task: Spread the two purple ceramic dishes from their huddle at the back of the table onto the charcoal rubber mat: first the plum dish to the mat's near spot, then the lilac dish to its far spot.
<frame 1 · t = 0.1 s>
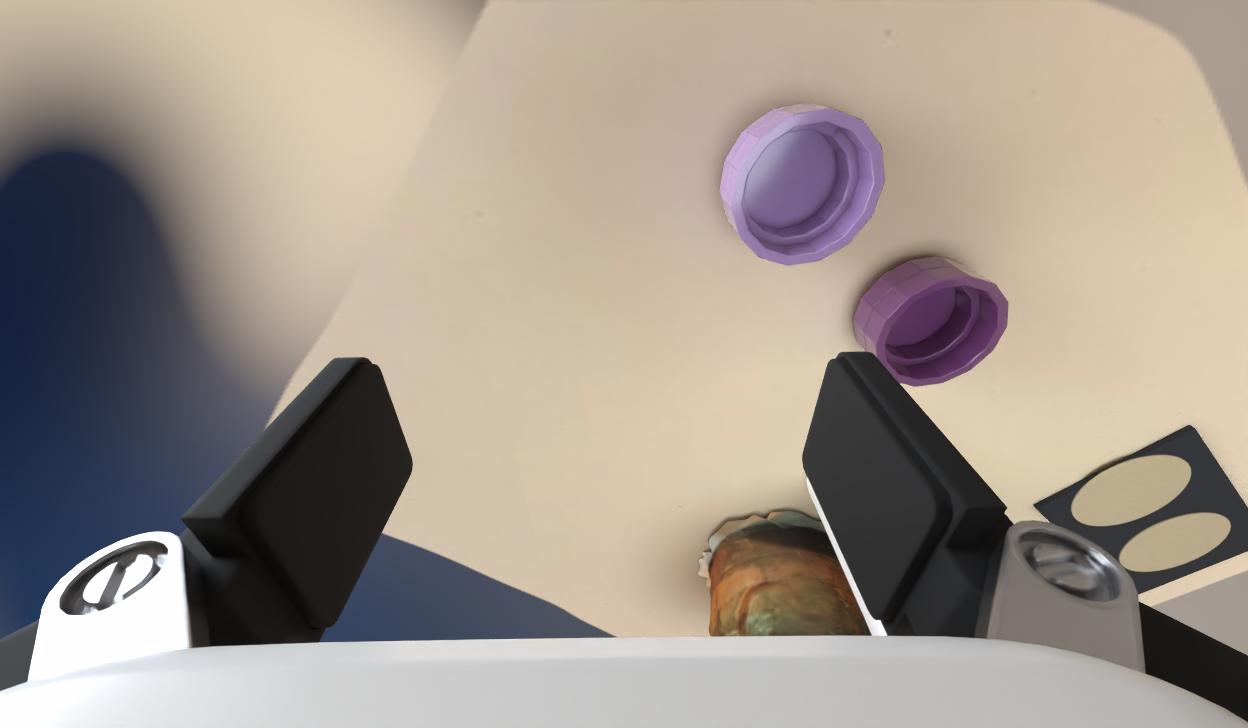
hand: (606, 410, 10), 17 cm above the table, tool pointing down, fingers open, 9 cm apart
cup: (860, 470, 35), on the table
mat: (1153, 522, 39), on the table
vessel: (762, 560, 41), on the table
plum dish: (907, 307, 28), on the table
lilac dish: (784, 177, 24), on the table
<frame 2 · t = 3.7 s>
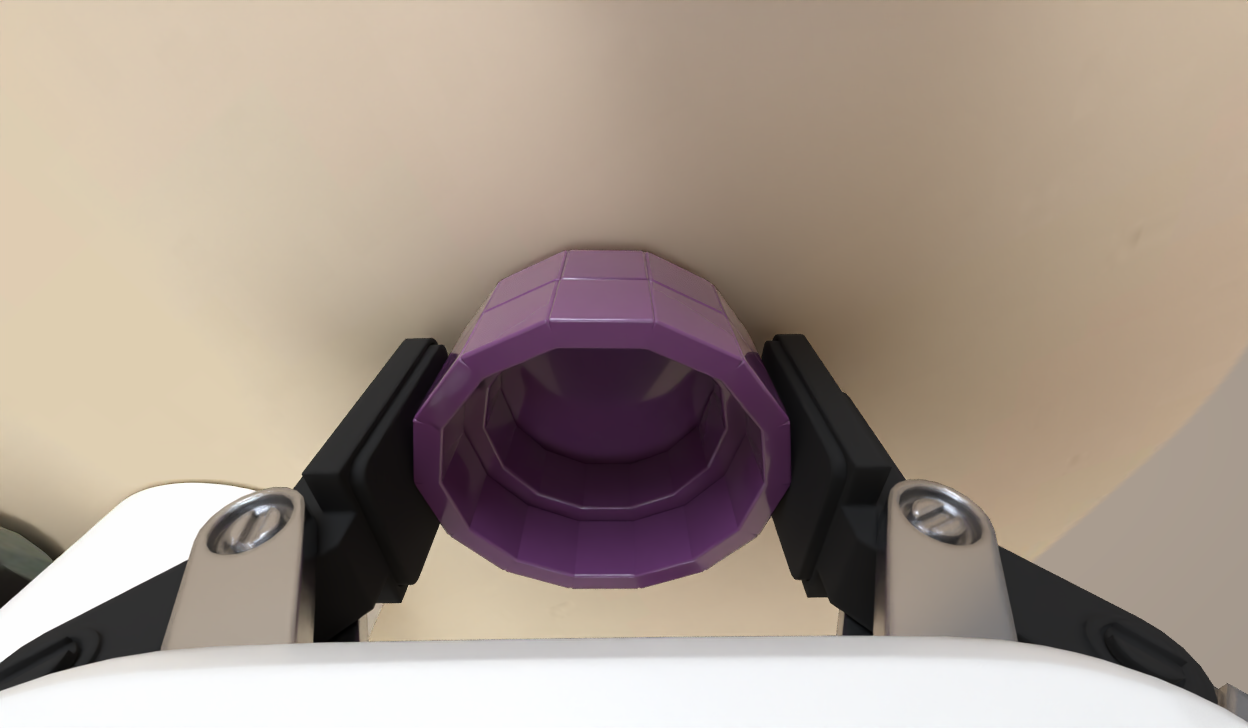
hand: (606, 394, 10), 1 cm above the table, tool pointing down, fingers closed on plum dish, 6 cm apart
cup: (260, 563, 15), on the table
plum dish: (607, 375, 11), on the table, touching gripper
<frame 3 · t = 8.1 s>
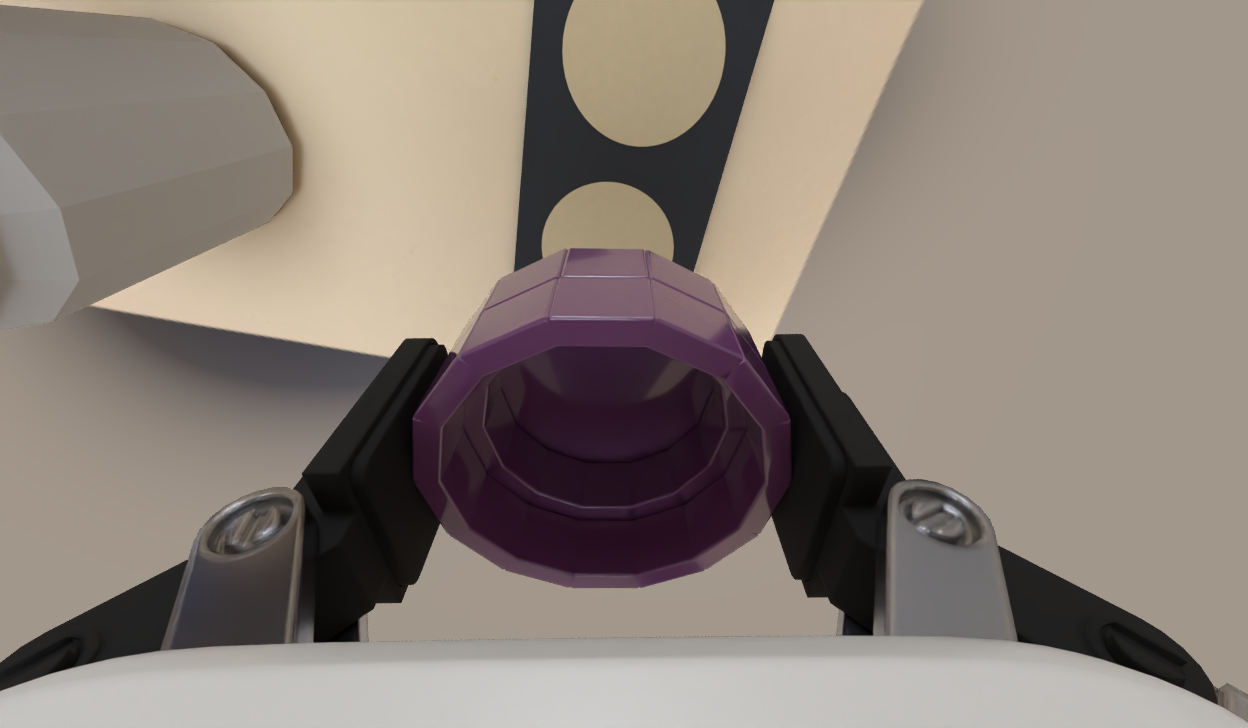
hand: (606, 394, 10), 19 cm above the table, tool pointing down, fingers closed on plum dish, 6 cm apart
mat: (618, 190, 27), on the table
plum dish: (607, 374, 11), point 19 cm above the table, touching gripper
jar: (212, 132, 25), on the table
when the fingers open (1 cm above the table, at t = 12.9 s): plum dish stays where it is, resting on mat.
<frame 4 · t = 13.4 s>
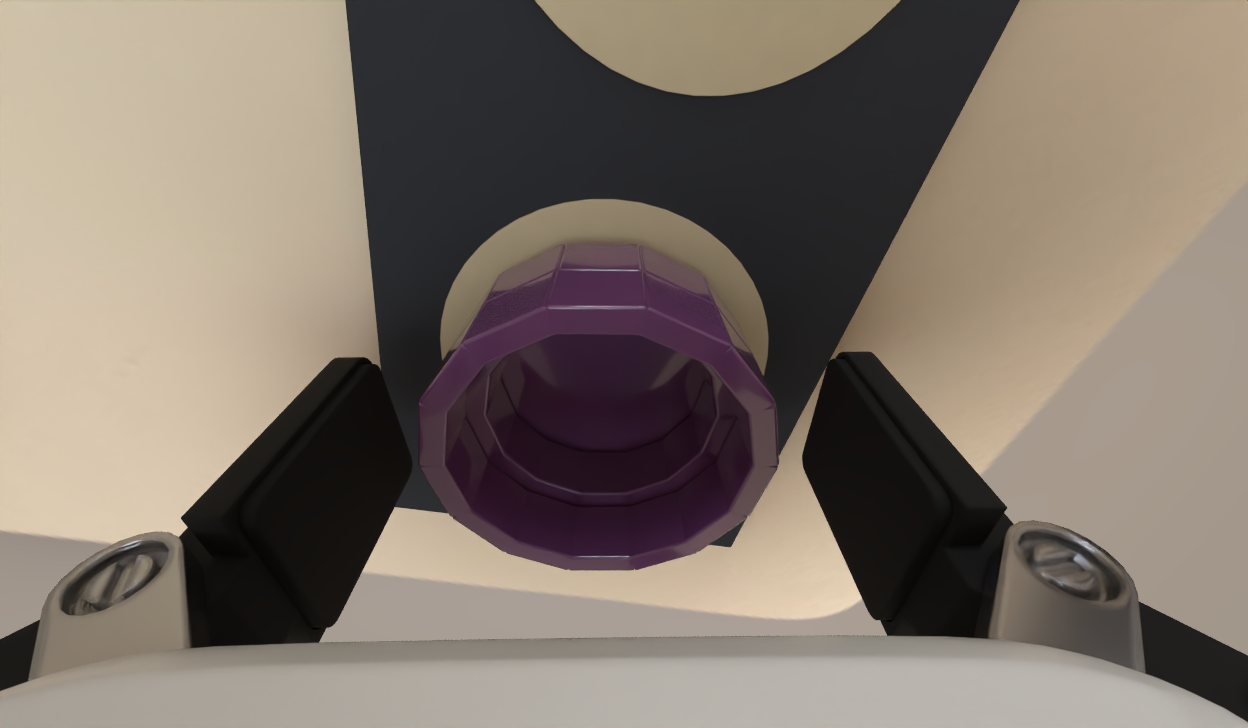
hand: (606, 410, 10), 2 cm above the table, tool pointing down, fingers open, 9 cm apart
mat: (635, 221, 10), on the table
plum dish: (604, 366, 12), resting on mat
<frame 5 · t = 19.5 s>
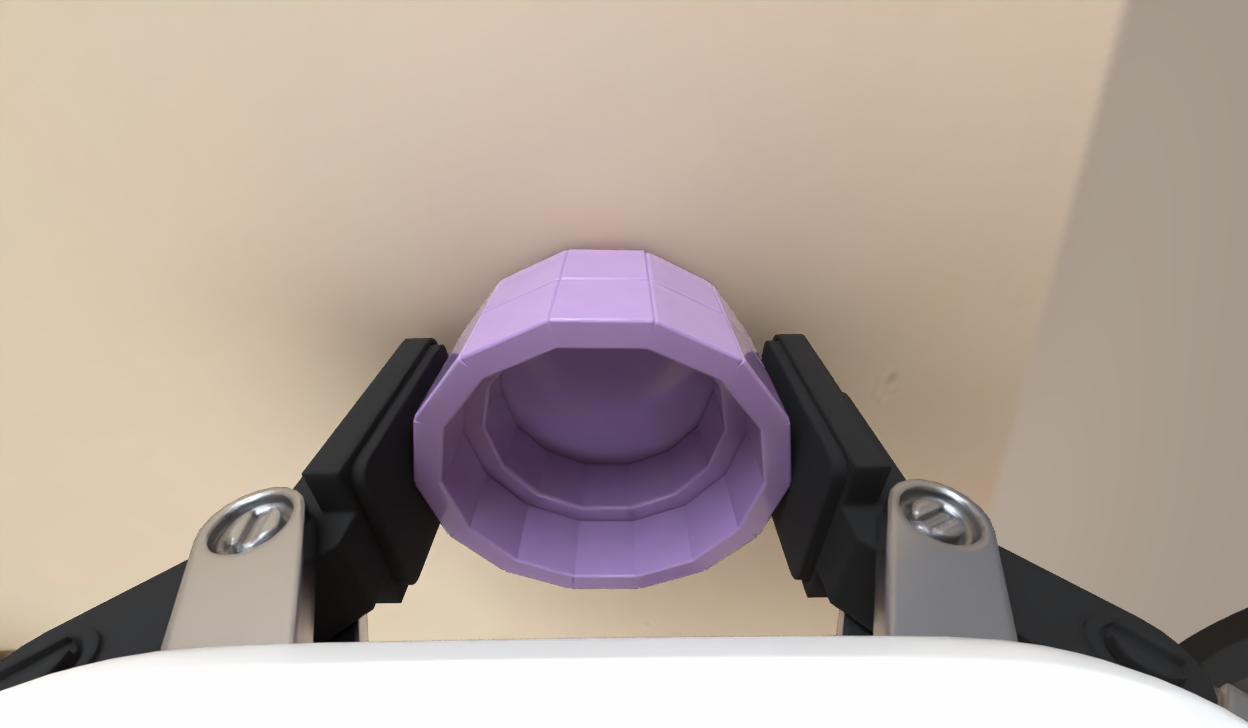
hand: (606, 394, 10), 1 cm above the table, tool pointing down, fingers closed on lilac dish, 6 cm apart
lilac dish: (607, 375, 11), on the table, touching gripper
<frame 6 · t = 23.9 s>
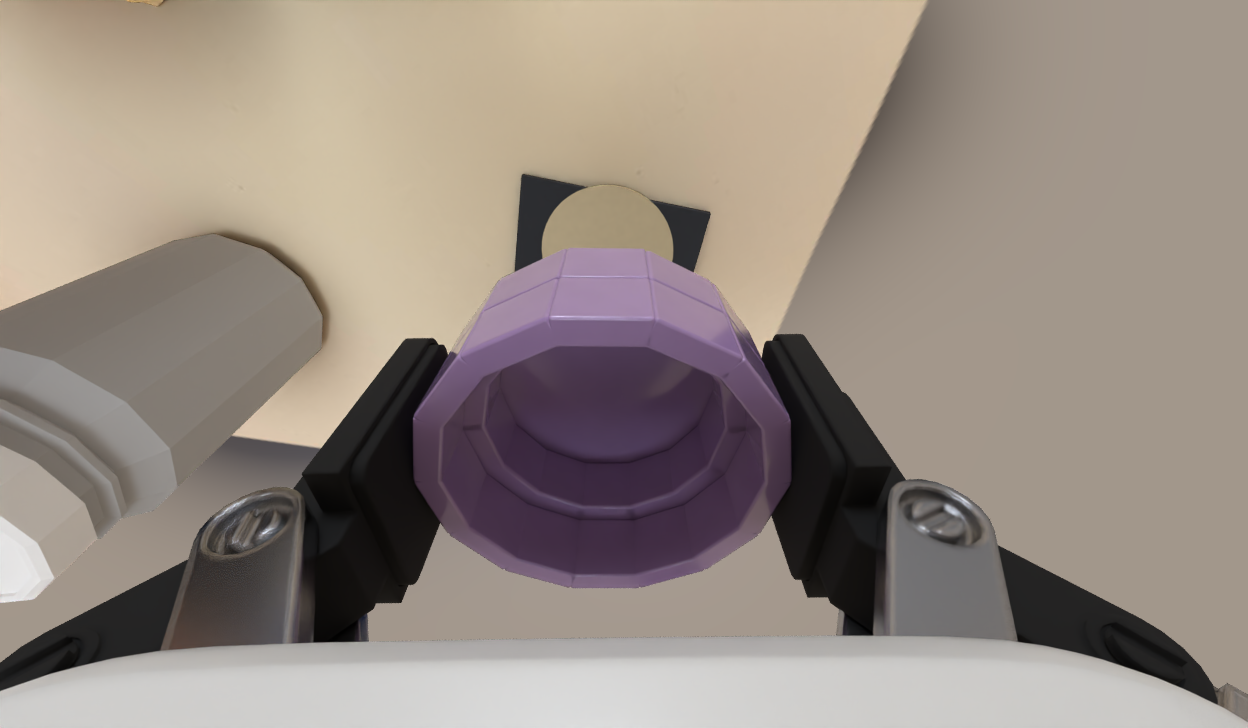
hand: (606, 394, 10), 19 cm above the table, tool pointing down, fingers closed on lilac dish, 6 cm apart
mat: (591, 340, 32), on the table
lilac dish: (607, 374, 11), point 19 cm above the table, touching gripper
jar: (256, 300, 31), on the table
when the fingers open (1 cm above the table, at t = 28.7 s): lilac dish stays where it is, resting on mat.
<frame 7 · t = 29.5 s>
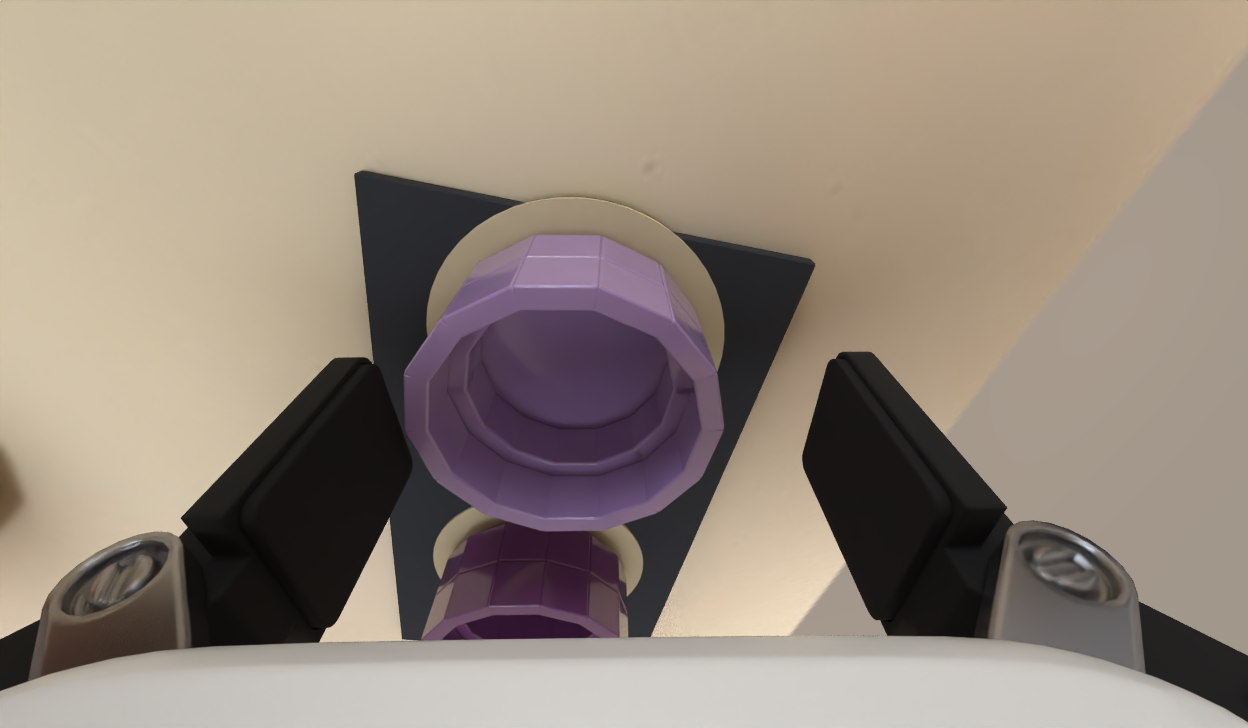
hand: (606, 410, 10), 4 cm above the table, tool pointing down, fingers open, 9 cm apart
mat: (551, 496, 17), on the table
plum dish: (538, 567, 18), resting on mat
lilac dish: (575, 348, 13), resting on mat
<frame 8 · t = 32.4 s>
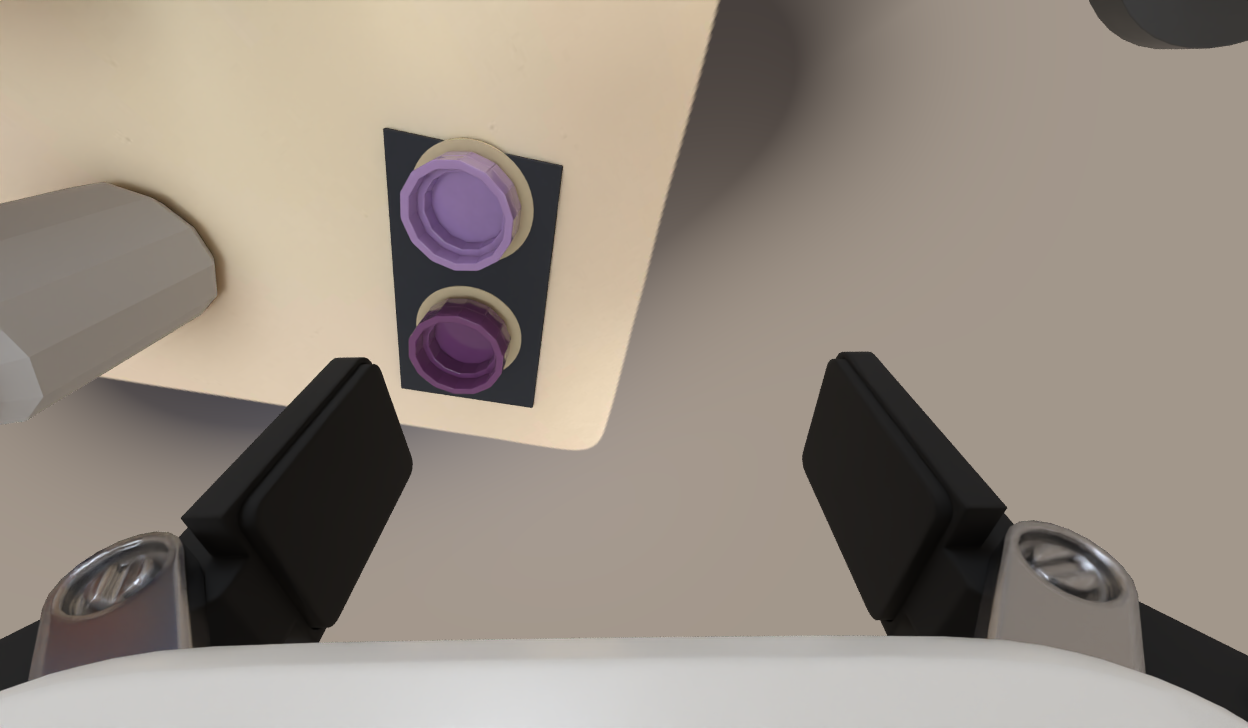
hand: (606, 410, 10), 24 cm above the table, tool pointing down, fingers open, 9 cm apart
mat: (472, 290, 35), on the table
plum dish: (468, 334, 36), resting on mat
lilac dish: (471, 204, 31), resting on mat
jar: (155, 249, 33), on the table
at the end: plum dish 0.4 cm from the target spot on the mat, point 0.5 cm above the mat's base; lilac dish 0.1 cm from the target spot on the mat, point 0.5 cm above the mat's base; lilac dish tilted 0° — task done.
